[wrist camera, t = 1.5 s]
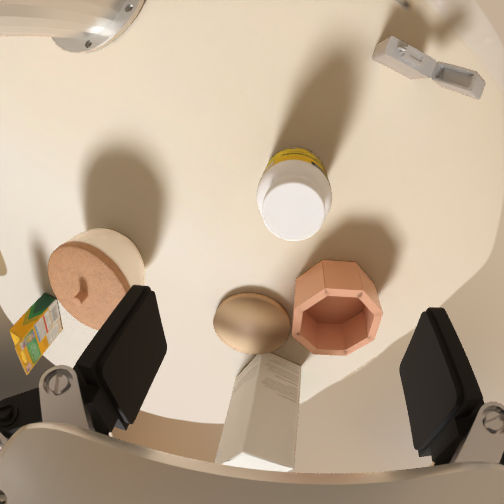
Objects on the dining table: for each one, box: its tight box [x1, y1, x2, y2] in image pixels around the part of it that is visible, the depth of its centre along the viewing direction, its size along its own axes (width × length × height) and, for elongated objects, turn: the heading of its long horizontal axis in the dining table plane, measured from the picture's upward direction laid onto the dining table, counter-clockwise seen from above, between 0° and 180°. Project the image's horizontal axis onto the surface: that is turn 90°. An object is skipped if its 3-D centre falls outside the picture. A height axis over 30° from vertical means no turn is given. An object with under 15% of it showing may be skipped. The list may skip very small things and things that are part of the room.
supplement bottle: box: [256, 147, 332, 241], centre depth 23 cm, size 5×5×10 cm
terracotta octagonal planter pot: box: [292, 260, 383, 356], centre depth 31 cm, size 9×9×5 cm
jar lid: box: [213, 293, 290, 354], centre depth 36 cm, size 9×9×1 cm
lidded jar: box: [48, 228, 145, 330], centre depth 31 cm, size 11×11×9 cm
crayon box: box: [9, 293, 63, 375], centre depth 38 cm, size 7×3×12 cm, turn 164°
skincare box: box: [215, 352, 301, 472], centre depth 34 cm, size 8×7×16 cm
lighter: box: [372, 36, 485, 100], centre depth 18 cm, size 7×2×8 cm, turn 72°
